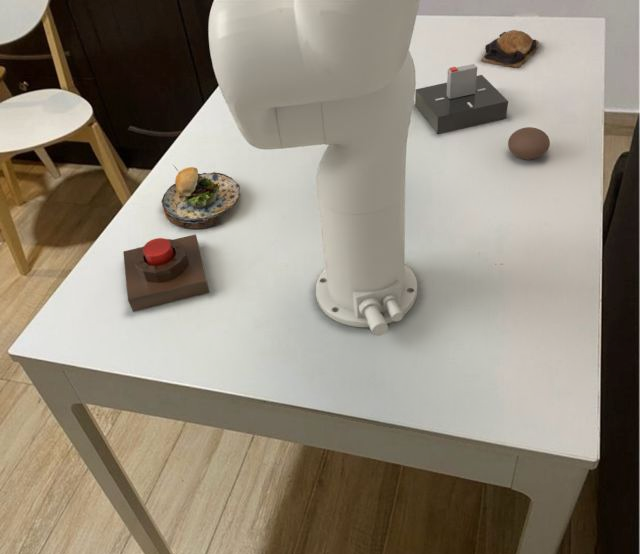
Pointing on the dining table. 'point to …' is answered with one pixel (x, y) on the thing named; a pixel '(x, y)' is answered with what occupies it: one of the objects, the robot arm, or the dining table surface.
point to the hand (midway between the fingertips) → (343, 75)
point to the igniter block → (165, 275)
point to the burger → (199, 198)
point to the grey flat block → (461, 81)
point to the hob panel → (460, 106)
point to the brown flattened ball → (529, 143)
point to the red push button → (158, 251)
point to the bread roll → (510, 49)
